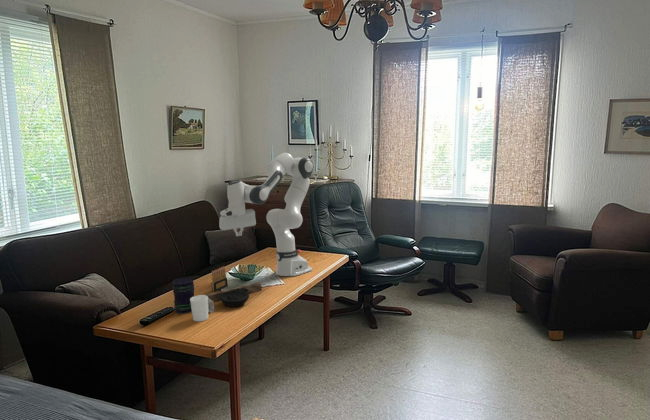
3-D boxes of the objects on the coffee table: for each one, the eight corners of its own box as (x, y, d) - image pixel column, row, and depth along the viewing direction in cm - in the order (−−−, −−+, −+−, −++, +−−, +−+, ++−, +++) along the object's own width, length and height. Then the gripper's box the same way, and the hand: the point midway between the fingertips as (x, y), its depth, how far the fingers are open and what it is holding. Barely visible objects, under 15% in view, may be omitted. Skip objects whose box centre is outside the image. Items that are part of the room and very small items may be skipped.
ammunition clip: (214, 292, 239) (212, 270, 238) (211, 291, 240) (209, 270, 238) (227, 286, 248) (226, 265, 247) (225, 285, 249) (223, 265, 248)
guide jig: (259, 289, 240) (259, 280, 240) (272, 296, 228) (272, 287, 227) (199, 304, 222) (198, 294, 221) (210, 312, 210) (209, 302, 209)
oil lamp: (258, 296, 229) (257, 287, 229) (241, 310, 211) (240, 300, 210) (232, 295, 233) (231, 286, 233) (213, 309, 215) (212, 299, 214)
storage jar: (195, 304, 221) (192, 276, 219) (197, 311, 212) (194, 281, 210) (174, 308, 218) (171, 279, 216) (175, 315, 209) (172, 284, 206)
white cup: (193, 323, 198) (191, 302, 196) (191, 317, 205) (189, 296, 204) (211, 320, 201) (209, 299, 199) (208, 314, 208) (206, 293, 207)
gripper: (252, 207, 247) (253, 232, 249) (217, 212, 236) (219, 237, 238) (257, 209, 242) (258, 233, 244) (221, 213, 231) (223, 239, 233)
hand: (238, 235), depth 241 cm, fingers closed
